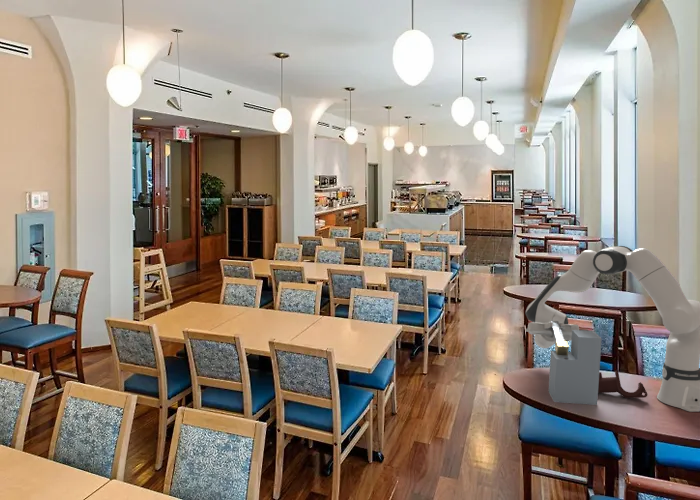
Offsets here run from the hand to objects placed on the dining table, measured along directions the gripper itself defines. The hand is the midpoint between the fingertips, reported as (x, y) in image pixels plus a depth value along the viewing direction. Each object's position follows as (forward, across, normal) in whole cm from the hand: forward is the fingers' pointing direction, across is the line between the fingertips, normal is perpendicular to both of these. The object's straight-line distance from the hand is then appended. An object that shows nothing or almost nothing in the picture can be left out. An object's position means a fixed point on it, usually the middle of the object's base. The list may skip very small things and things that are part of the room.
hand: (556, 324), depth 211 cm
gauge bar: (+1, 0, +7) cm, 7 cm away
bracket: (-6, +23, +26) cm, 35 cm away
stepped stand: (-1, +4, +29) cm, 29 cm away
